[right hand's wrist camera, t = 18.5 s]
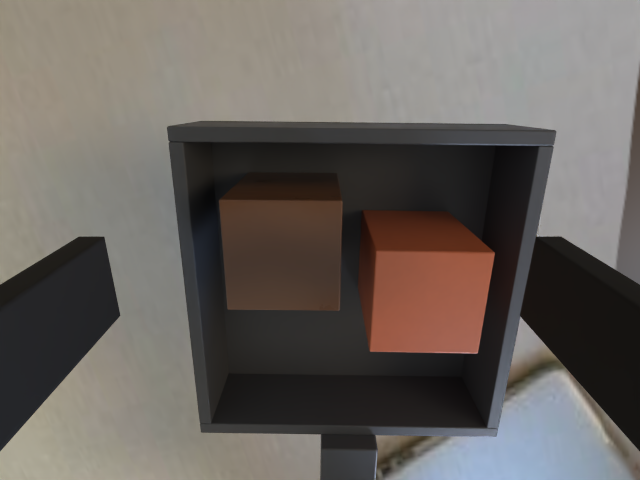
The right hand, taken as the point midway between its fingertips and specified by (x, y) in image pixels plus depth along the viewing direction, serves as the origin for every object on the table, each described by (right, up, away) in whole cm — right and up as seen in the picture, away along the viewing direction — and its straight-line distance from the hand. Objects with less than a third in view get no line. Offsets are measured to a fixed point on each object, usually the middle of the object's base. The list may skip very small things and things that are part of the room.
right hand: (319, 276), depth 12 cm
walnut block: (-1, +2, +8) cm, 9 cm away
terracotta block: (+4, +1, +9) cm, 10 cm away
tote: (+2, -6, +12) cm, 13 cm away
